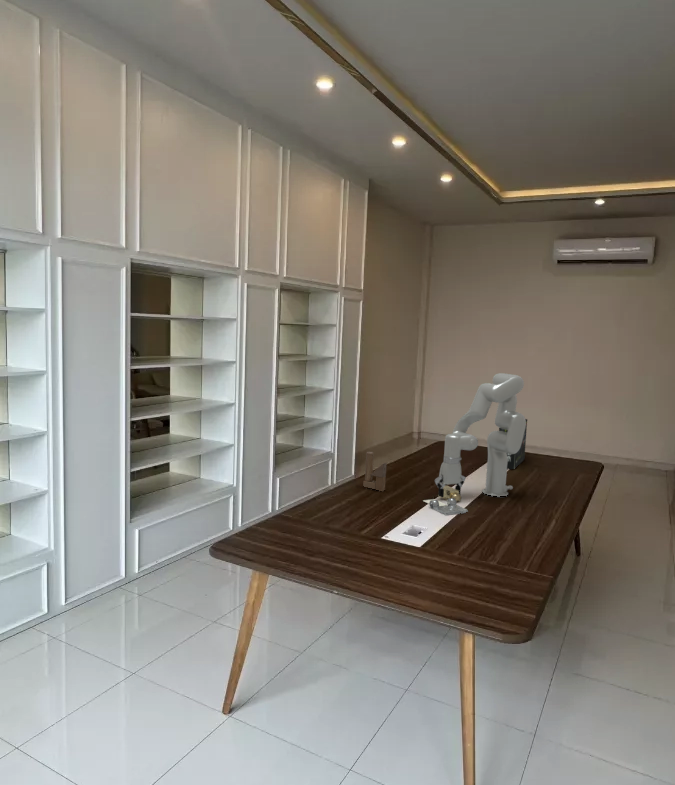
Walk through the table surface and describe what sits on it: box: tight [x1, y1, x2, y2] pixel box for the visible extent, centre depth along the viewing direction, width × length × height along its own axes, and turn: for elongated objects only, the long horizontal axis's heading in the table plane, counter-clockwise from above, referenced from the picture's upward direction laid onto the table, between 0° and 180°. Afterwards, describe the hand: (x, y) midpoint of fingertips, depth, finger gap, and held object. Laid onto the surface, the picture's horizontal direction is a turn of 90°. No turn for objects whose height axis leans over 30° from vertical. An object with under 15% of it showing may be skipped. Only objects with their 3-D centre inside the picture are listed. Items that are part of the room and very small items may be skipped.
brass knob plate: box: [437, 485, 462, 503], centre depth 273 cm, size 5×12×5 cm, turn 26°
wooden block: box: [362, 451, 388, 492], centre depth 284 cm, size 4×11×18 cm, turn 56°
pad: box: [422, 498, 448, 507], centre depth 266 cm, size 7×10×1 cm
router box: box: [498, 418, 528, 470], centre depth 355 cm, size 36×11×27 cm, turn 152°
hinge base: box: [428, 498, 469, 516], centre depth 256 cm, size 14×12×4 cm
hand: (449, 495), depth 274 cm, fingers open, 9 cm apart
